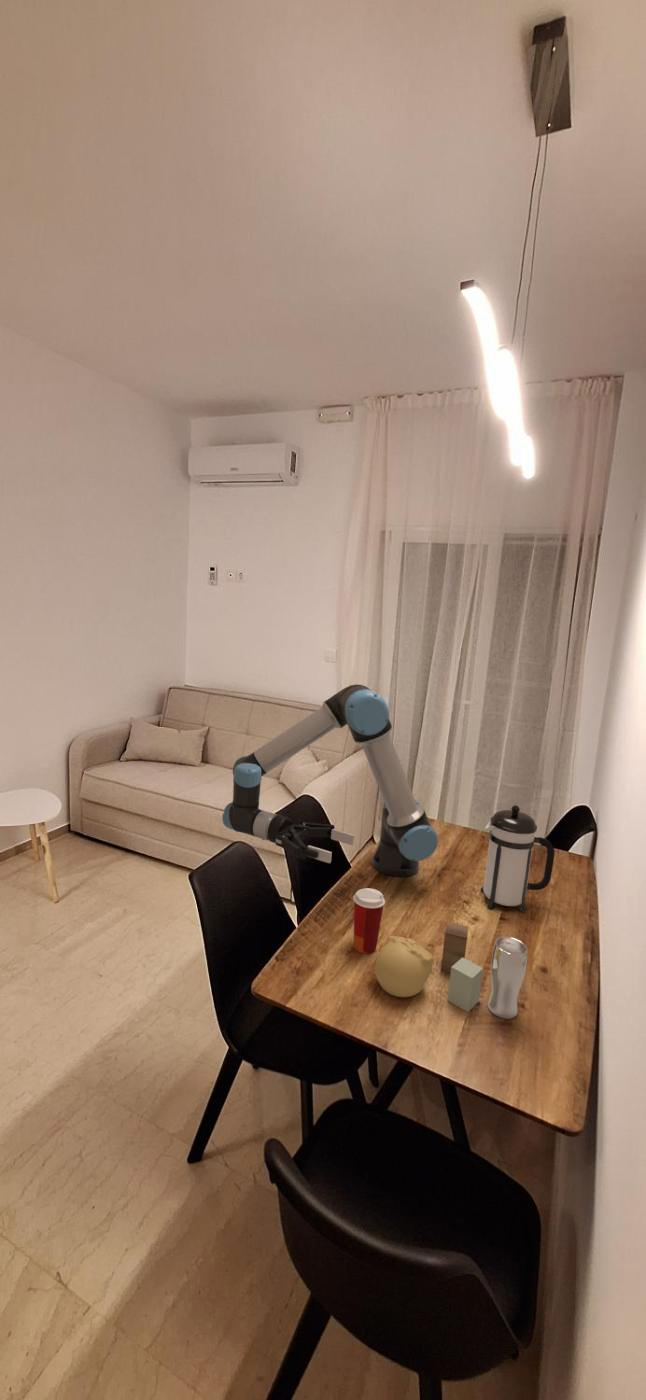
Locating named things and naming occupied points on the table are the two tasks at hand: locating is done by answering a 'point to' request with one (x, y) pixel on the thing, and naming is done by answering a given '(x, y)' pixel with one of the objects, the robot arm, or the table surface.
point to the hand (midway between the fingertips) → (342, 848)
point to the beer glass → (507, 976)
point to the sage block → (465, 984)
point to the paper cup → (367, 919)
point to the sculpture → (403, 967)
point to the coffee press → (512, 858)
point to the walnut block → (453, 945)
